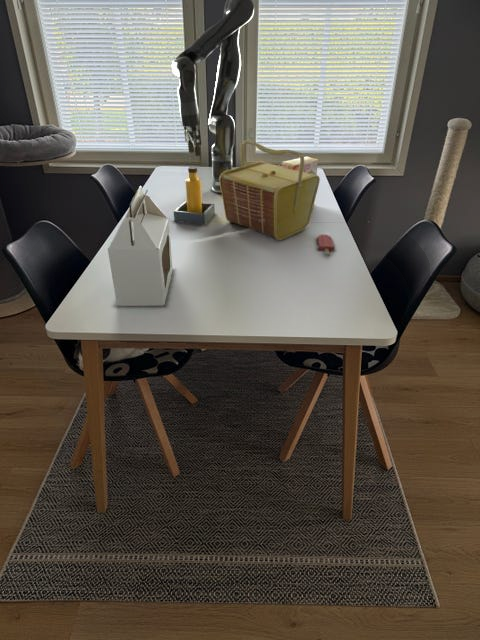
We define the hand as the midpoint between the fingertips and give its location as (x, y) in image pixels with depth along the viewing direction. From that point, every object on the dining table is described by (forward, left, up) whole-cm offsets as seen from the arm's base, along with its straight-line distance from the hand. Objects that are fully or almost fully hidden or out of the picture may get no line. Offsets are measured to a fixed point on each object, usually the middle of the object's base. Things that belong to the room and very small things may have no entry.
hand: (194, 154), depth 193 cm
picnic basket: (-9, +44, -19) cm, 49 cm away
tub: (+12, +23, -19) cm, 32 cm away
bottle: (+12, +23, -18) cm, 32 cm away
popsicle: (-16, +71, -19) cm, 75 cm away
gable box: (+49, +66, -19) cm, 85 cm away
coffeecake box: (-32, +32, -19) cm, 49 cm away
